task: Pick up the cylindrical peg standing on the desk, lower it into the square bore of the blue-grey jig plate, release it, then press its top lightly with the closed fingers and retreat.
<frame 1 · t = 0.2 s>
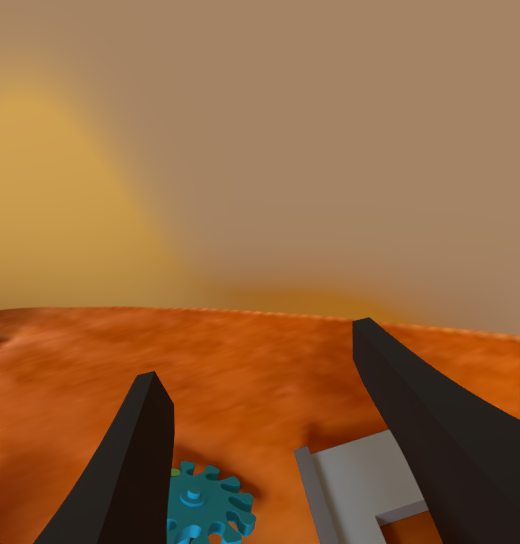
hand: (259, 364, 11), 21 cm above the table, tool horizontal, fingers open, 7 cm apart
gear: (202, 519, 27), on the table
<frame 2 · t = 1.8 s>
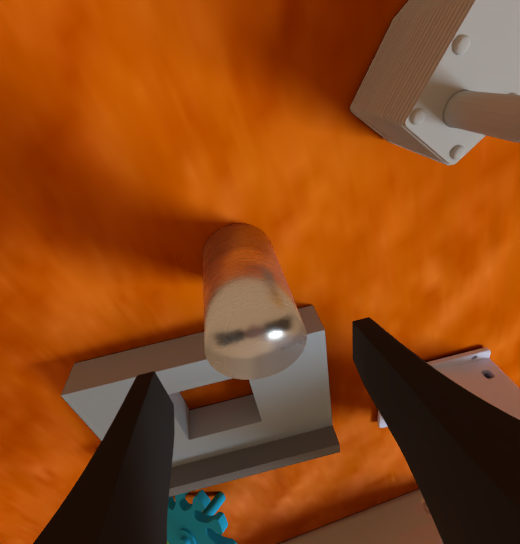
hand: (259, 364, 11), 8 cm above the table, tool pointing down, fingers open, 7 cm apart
padlock: (418, 51, 14), on the table
gear: (189, 489, 33), on the table
cylindrical peg: (238, 255, 18), on the table
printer: (379, 533, 51), on the table
jig: (217, 388, 24), on the table
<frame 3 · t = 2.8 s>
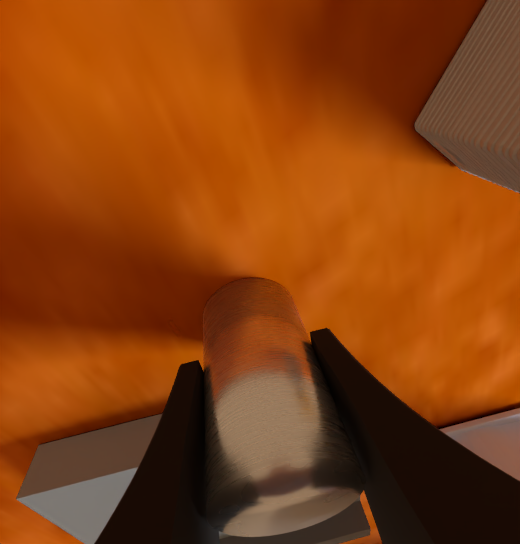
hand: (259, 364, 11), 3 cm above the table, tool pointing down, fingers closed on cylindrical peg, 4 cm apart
padlock: (516, 42, 10), on the table
cylindrical peg: (249, 316, 14), on the table, touching gripper
jig: (221, 459, 20), on the table
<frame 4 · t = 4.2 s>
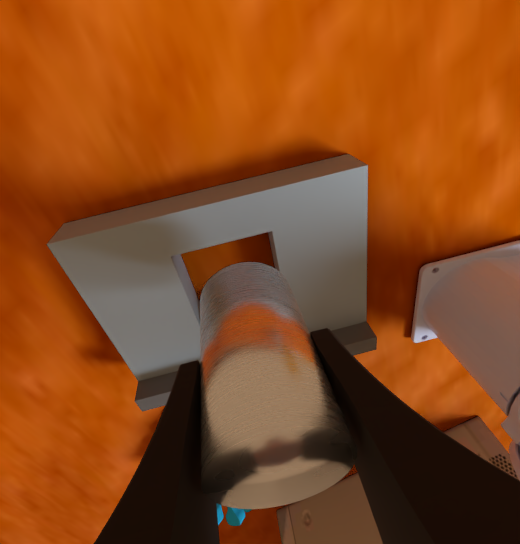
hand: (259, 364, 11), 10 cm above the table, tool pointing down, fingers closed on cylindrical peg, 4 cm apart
gear: (201, 422, 29), on the table
cylindrical peg: (246, 301, 14), point 6 cm above the table, touching gripper
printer: (400, 491, 47), on the table
jig: (233, 275, 21), on the table
when the fingers open (4 cm above the table, at t = 5.6 s): cylindrical peg stays where it is, resting in jig.
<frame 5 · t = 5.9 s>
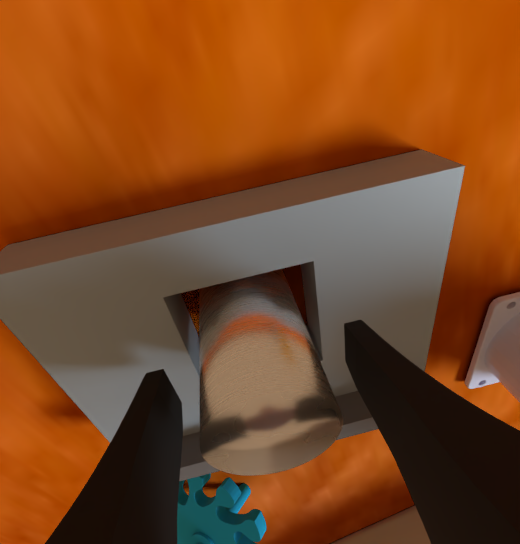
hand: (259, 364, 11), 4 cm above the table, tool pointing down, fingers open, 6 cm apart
gear: (203, 479, 24), on the table
cylindrical peg: (243, 289, 14), resting in jig
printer: (423, 534, 42), on the table
jig: (249, 312, 15), on the table
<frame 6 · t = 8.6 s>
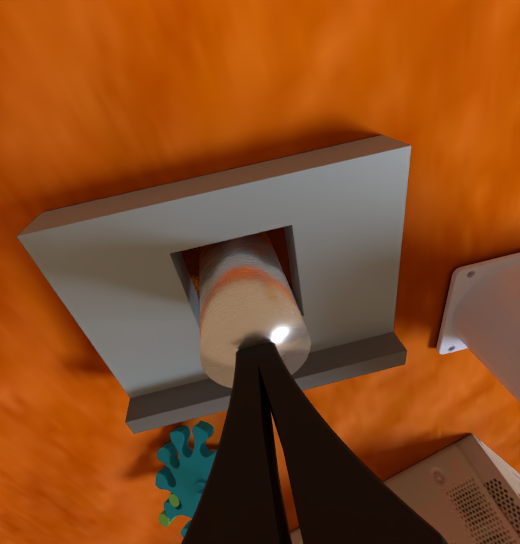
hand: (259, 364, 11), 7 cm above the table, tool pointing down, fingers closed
gear: (204, 440, 27), on the table
cylindrical peg: (236, 255, 17), resting in jig
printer: (410, 507, 45), on the table
jig: (242, 277, 18), on the table
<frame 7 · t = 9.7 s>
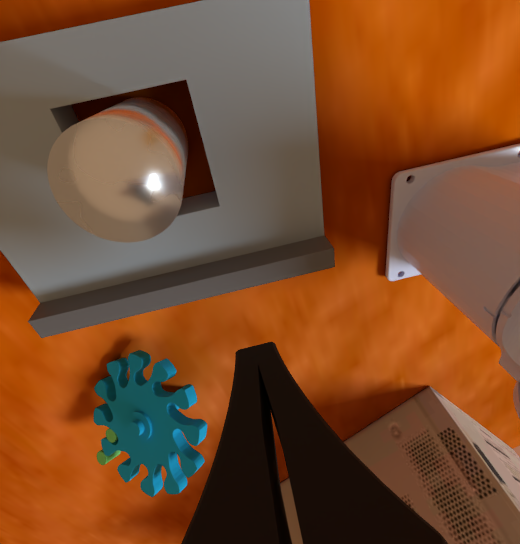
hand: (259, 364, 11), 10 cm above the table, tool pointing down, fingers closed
gear: (149, 379, 26), on the table
cylindrical peg: (148, 142, 16), resting in jig
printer: (383, 473, 44), on the table
jig: (158, 170, 17), on the table
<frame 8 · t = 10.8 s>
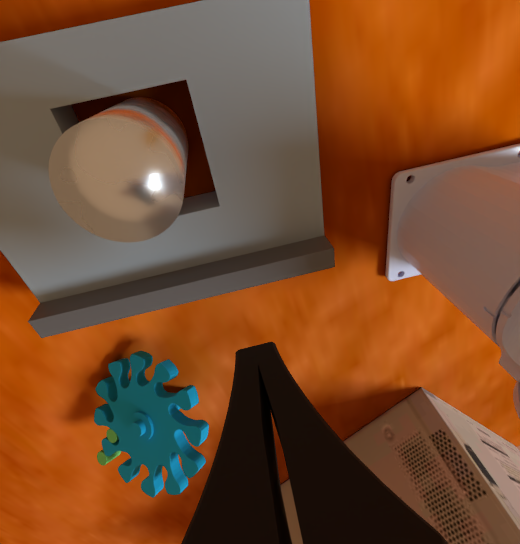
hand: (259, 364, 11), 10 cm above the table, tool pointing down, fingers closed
gear: (150, 380, 26), on the table
cylindrical peg: (148, 142, 16), resting in jig
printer: (383, 473, 43), on the table
jig: (158, 170, 17), on the table
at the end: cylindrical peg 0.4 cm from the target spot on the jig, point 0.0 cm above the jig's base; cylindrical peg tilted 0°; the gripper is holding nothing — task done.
